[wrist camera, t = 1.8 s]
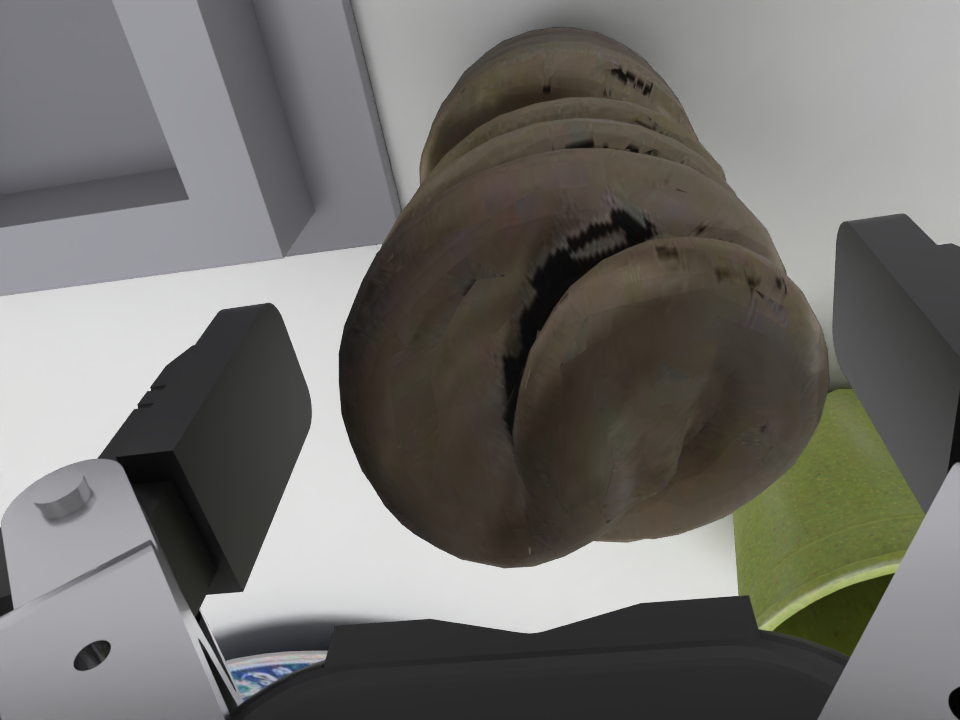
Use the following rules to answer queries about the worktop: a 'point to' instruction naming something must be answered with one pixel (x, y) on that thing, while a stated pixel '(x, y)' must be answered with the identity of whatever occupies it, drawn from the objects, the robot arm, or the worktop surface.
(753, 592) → the plant pot
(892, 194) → the worktop surface
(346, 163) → the socket board
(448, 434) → the brown tall knobbly piece
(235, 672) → the ceramic plate
